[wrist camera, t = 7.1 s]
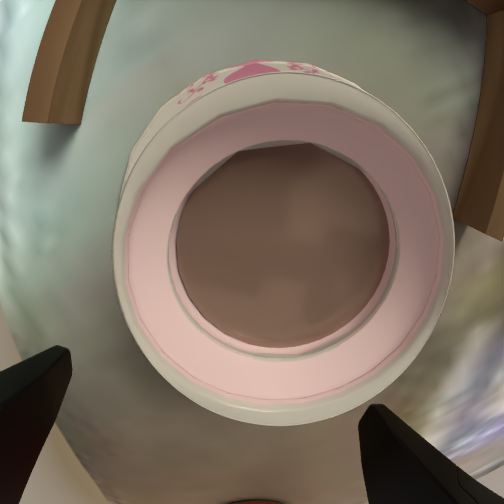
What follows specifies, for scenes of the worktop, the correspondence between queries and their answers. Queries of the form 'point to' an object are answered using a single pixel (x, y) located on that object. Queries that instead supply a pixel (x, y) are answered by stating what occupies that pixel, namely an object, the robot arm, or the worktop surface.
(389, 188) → the teacup
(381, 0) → the worktop surface
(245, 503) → the beer can
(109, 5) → the open wooden frame
